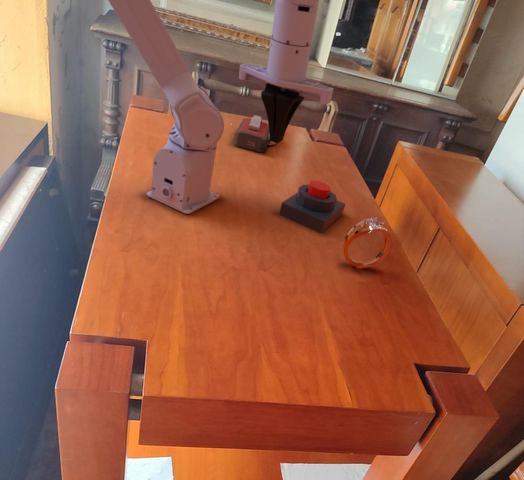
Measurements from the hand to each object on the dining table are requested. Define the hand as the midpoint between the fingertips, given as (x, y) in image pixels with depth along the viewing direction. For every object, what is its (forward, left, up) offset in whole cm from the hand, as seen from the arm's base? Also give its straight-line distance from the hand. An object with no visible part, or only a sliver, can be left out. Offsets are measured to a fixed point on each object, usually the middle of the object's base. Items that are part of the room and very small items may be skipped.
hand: (276, 140), depth 77 cm
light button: (+3, -8, -7) cm, 11 cm away
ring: (-7, -21, -11) cm, 24 cm away
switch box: (+3, -8, -11) cm, 14 cm away
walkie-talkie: (+29, +16, -11) cm, 35 cm away
